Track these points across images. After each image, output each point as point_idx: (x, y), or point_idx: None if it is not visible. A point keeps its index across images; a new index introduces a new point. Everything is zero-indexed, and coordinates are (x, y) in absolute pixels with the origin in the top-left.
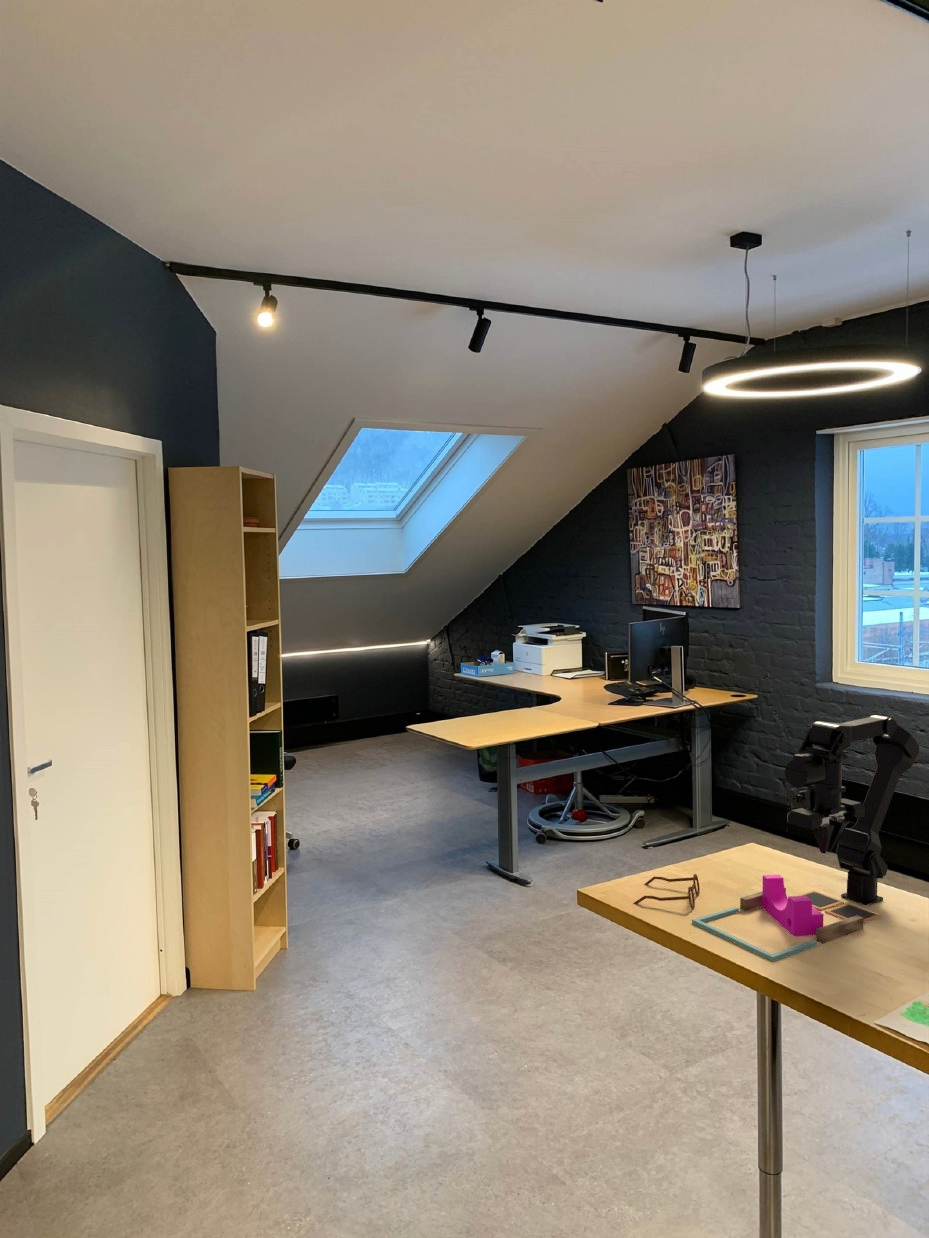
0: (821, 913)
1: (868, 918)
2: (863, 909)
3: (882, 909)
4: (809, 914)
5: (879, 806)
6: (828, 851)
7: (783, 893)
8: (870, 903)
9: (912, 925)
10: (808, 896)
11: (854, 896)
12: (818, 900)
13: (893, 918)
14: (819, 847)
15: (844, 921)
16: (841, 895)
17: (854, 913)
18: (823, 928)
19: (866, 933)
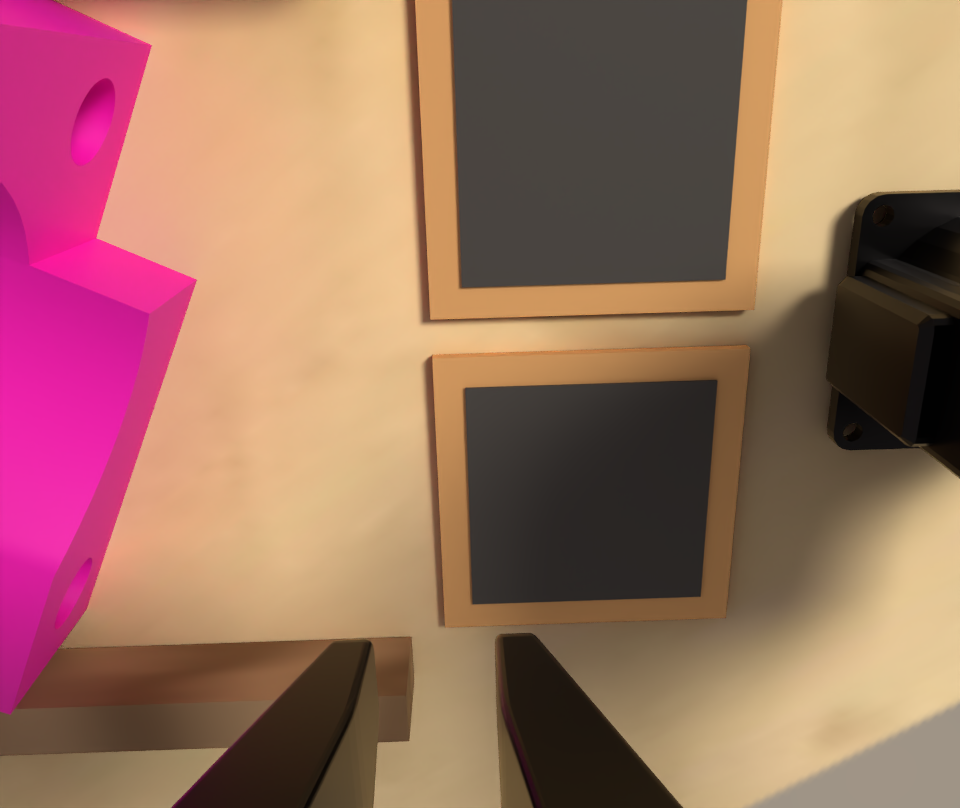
0: (8, 696)
1: (595, 606)
2: (725, 489)
3: (867, 533)
4: None
5: None
6: (496, 695)
7: None
8: (885, 445)
9: (752, 773)
10: (586, 44)
11: (841, 368)
12: (578, 173)
13: (765, 661)
14: (283, 706)
15: (215, 722)
16: (861, 208)
17: (584, 512)
18: None
19: None
